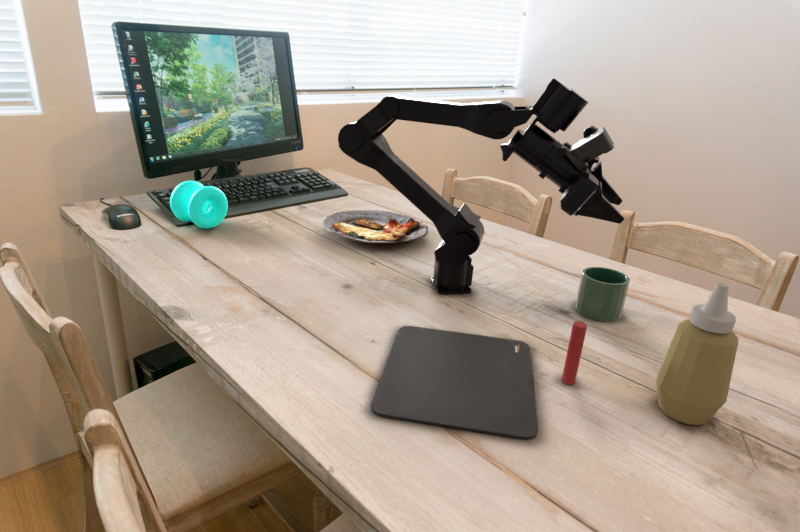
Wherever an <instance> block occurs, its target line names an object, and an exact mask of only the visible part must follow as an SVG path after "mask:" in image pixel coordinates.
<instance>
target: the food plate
mask: <svg viewBox="0 0 800 532" xmlns="http://www.w3.org/2000/svg"><path fill="white" fill-rule="evenodd" d="M321 226H322V227H323V228H324V229H325V230H326V231H327V232H329V233H332V234H336V235H338V236H340V237H344V238H347V239H351V240H353V241H355V242H356V241H358V242H363V243H367V244H373V245H383V244H384V245H391V244H392V245H394V244H403V243H409V242H411V241H415V240H418V239H420V238H424V237H425V236H427V235H428V233H429V226H428V225H427V224H426V223H424V222H423V221H422V220H421V221H420V220H419V219H417V218H416V217H412V216H409V215H406V214H402V213H396V212H392V211H388V210H380V209H350V210H342V211H337V212H335V213H333V214H330V215H327V216H325V217H324V218H323V219H322V221H321Z"/></svg>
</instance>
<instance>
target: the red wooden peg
mask: <svg viewBox="0 0 800 532" xmlns="http://www.w3.org/2000/svg"><path fill="white" fill-rule="evenodd" d="M587 328H588V324H587V323H585V322H584V321H580V320H575V321H573V323H572V327H571V331H570V335H569V336H570V337H569V341H568V345H567V352H566V357H565V361H564V362H565V363H564V366H563V371H562V375H561V382H562V383H563V384H565V385H568V386H574V385H575V384H576V380H577V376H578V371H579V367H580V363H581V357H582V353H583V347H584V343H585V339H586V333H587V330H588V329H587Z"/></svg>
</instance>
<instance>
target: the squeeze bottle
mask: <svg viewBox="0 0 800 532" xmlns="http://www.w3.org/2000/svg"><path fill="white" fill-rule="evenodd" d="M728 301H729V285H728V284H727V283H724V282H717V283H716V285H715V287H714V288H713V289H712V291H711V293H710V294H709V296H708V298H707V299H706V300H705V302H704V304H696V305H693V306H692V308H691V312H690V314H689V318H687V319H684V320H682V321H680V322H678V325H677V327H676V329H675V332H674V334H673V336H672V339H671V341H670V343H669V346H668V348H667V351H666V352H665V356H664V358H663V360H662V363H661V365H660V367H659V369H658V371H657V375H656V379H655V384H656V392H657V401H658V406H659V408H660V410H661V411H662V412H663V413H664V414H665V415H666V416H668V417H669V418H671V419H673V420H675V421H677V422H679V423H683V424H686V425H690V426H691V425H693V426H700V425H705V424H706V423H707V422H709V421H710V420H711V418H712V417H714V416H715V415H716V413H717V412H718V411H719V410H720V409H721V408H722V407H723V406H724V405H725V404H726V403H727V400H728V394H729V390H730V385H731V384H730V383H731V380H732V376H733V370H734V365H735V361H736V357H737V352H738V350H737V349H738V346H739V337H738V336H737V334H736V333H734V331H733V330H734V327H735V324H736V321H737V317H736V315H734V313H732V312H730V311H729V310H728V305H729V302H728Z"/></svg>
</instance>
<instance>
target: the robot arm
mask: <svg viewBox="0 0 800 532" xmlns="http://www.w3.org/2000/svg"><path fill="white" fill-rule="evenodd" d="M588 104H589V101H588V100H586V99H585V97H583V96H582V95H580V94H579V93H578V92H576V91H575V90H574V89H572V87H567V86H566V85H564V84H563V83H562V82H560V81H559V80H557V78H552V79H551V80H550V82H549V83H548V84H547V86H546V88H545V89H544V91H543V93H542V94H541V95H540V96H539V98H538V99H537V100H536V102H535V103H534V104H533V105H528V104H526V105H524V106H520V105H519V106H518V105H517V106H514V105H513V103H511V102H510V101H507V100H491V101H489V100H488V101H478V102H469V103H467V102H466V103H462V102H453V101H444V100H436V99H435V100H434V99H427V98H417V97H409V96H408V97H407V96H402V95H400V94H390V95H387V96H385V97H382V99H381V100H380V101H379V103H377V104H376V105H375V106H374V107H373V108H372V109H370V110H369V111H368V112H366V113H365V114H364V115H362V116H361V117H360V118H358V120H357V121H353V122H350V123H347V124H345V125H344V126H342V127H341V128H340V130H339V132H338V135H337V142H338V144H337V145H338V147H339V148H338V149H340V151H341V152H342V153H343V154H345V155H346V156H347V157H349V158H350V159H352V160H353V161H355V162H357V163H359V164H360V165H362V166H365V167H367V168H369V169H372V170H374V171H376V172H377V173H378V174H379V175H380V176H382V178H384V179H385V180H386V181H387V182H388V183H389V184H390V185H391V186H392V187H393V188H395V190H397V191H398V192H399V193H400V194H401V195H402V196H403V197H404V198H406V199H407V200H408V201H409V202H410V203H411V204H412V205H413V206H414V207H415V208H417V209H418V210H419V211H420V212H421V213H422V214H423V215H424V216H425V217H426V218H427V219H429V221H431V223H432V224H433V225H434V227H435V229H436V230H437V233H438V235H439V236H440V238H441V241H440V242H439V244H438V246H437V247H436V248H435V250H434V252H433V254H434V265H433V277H430V282H431V283H432V285H433V287H434V290H435V291H436V293H437V294H440V295H442V294H443V295H444V294H446V295H447V294H470V293H472V288H471V287H472V285H473V276H474V265H473V264H472V263H473V259H472V257H471V255H473V254H475V253H476V252H477V251H478V249H479V247H480V245H481V243H482V240H483V239H484V236H485V226H484V224H483V222H482V221H481V218H482V217H481V215H480V214H479V215H478V214H476V213H475V212H473V210H472V209H471V208H470V206H468V205H467V204H466V203H465V202H463V204H462V205H461V207H458V206H455V205H453V204H451V203H449V202H448V201H447V200H446V199H445V198H444V197H442V196H441V195H440V193H438V192H437V191H436V190H435V188H432V186H431V185H430V184H428V183H427V182H426V181H425V180H424V179H423V178H422V177H420V176H419V174H417V173H416V172H415V171H414V170H413V169H412V168H411V167H409V166H408V164H406V162H404V161H403V160H402V159H401V158H400V157H399V156H398V155H397V154H395V153H394V151H393V150H392V148H391V145H390V144H389V142H388V140H387V137H385V136H384V133H385V132H386V131H387V130H388V129H389V128H390V127H392V125H393V124H394V123H395V122H396V121H397V120H398V121H407V122H414V123H422V124H423V123H424V124H432V125H437V126H438V125H439V126H448V127H455V128H459V129H463V130H466V131H468V132H470V133H473V134H475V135H479V136H482V137H485V138H489V139H491V140H503V139H505V138H507V137H508V136H509V135H510V134H512V132H513V131H514V130H515V129H516V128H517V127H519V126H523V125H525V124H527V123H528V121H529V120H530V119H531V117H532V116H533V115H534V116H535V118H534V119H533V121H532V122H531V123H530V124H529V125H528V127H527V128H526V129H525V130H522V129H517V131H516V132H515V133H514V135H513V136H512V137H511V139H509V141H508V142H503V143H501V145H500V146H499V147H500V150H501V154H502V156H501V157H502V161H503V162H507V161H508V160H509V158H510V157H511V156H512V155H513V154H515V155H516V156H517V157H518V158H520V159H521V160H522V161H524V162H525V163H526V164H527V165H529V166H530V167H531V168H533V169H534V170H536V171H537V172H538V177H539V178H540V179H542V180H544V179H545V178H546V179H548V181H550V182H551V183H553V184H554V185H555V186H556V187H558V192H560V193H561V196H560V201H559V203H560V209H561V210H562V211H563V212H564V213H566V214H567V215H568V216H570V217H572V216H575V217H577V216H580V217H586V218H592V219H597V220H601V221H605V222H611V223H614V224H622V222H624V221H625V216H623V215H622V214H621V212H619V210H618V209H617V208H616V207H615V206H614V205H616V206H620V205H621V204H622V203H623V199H622V197H621V196H620V195H619V194H618V193H617V192H616V191H617V190H615V189H614V188H613V186H612V185H611V184H610V183H609V182H608V180H607V179H606V177H605V176H604V175H603V164H602V161H601V160H600V156H602V155H603V154H608V153H610V152H611V151H612V150H613V149H614V148H615V145H614V141H613V140H612V138H611V136H610V135H609V133H608V130H607V129H606V127H605V126H600V127H599V128H598V127H596V126H594V125H592V124H590V125H588V126H587V127H586V128H583V133H582V135H583V138H580V139H579V140H578V141H577V142H575V143H574V144H573V145H572V144H570V143H569V142H568V141H562V142H560V141H559V140H557V139H556V138H555V137H554V136H552V135H551V134H549V133H548V132H547V131H546V130H544V129H543V128H542V127H540V126H539V125H538V124H537V122H538V123H539V124H540V125H542V126H543V127H544V128H545V129H547V130H549V131H550V132H551V133H553V134H556V133H558V132H560V130H561V131H562V132H566V131H567V129H568V128H569V127H570V126H571V125H572V124H573V122H574V121H575V120H576V119H577V118H578V116H579V115H580V114H581V113H582V111H583V110H584V109H585V107H586V106H587V105H588ZM594 164H596V165H595V166H594Z"/></svg>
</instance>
